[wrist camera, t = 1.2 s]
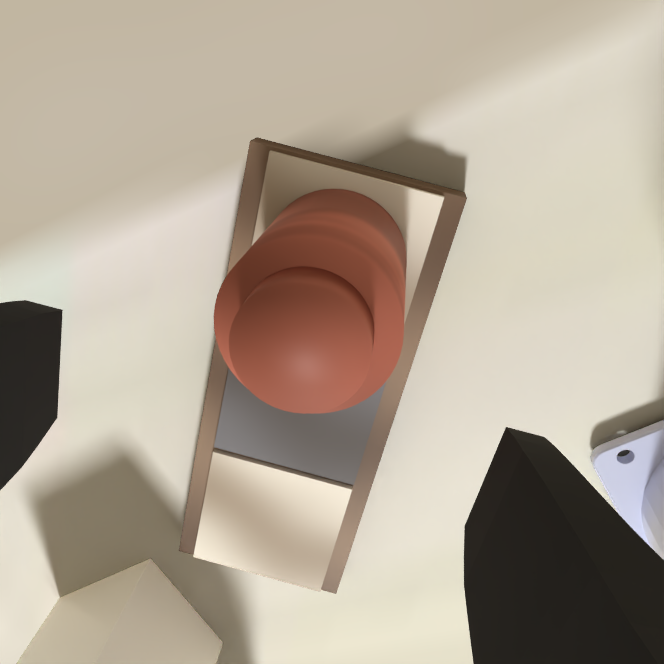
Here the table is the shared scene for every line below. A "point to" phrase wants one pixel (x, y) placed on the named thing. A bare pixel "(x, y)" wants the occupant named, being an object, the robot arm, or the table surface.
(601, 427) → the table surface
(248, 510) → the board
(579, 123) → the table surface
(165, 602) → the die
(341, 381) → the pawn
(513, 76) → the table surface
